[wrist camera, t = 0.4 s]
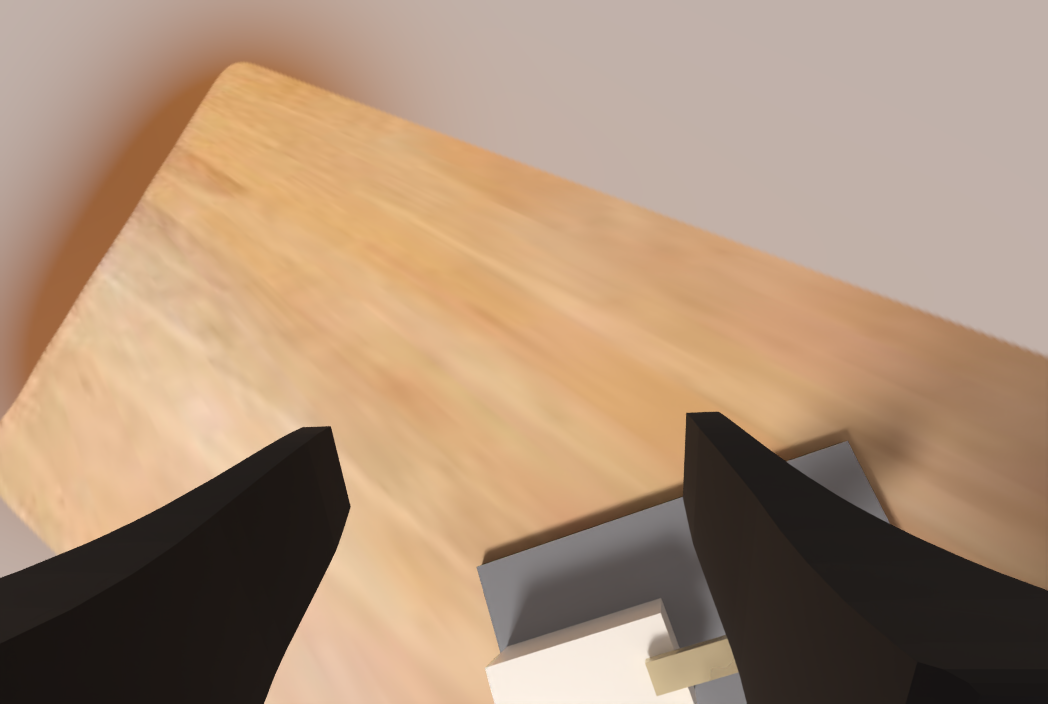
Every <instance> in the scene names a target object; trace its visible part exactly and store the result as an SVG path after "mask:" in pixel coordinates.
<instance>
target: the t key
mask: <svg viewBox="0 0 1048 704" xmlns="http://www.w3.org/2000/svg"><path fill="white" fill-rule="evenodd" d="M645 664H646V667H647V670H648V673H649V676H650V679H651V682H652V684H653V687H654V690H655V693H656V696H659V695H663V694H666V693H670V692H673V691H676V690H680V689H683V688H687V687H690V686H694V685H697V684H701V683H704V682H707V681H711V680H714V679H718V678H721V677H725V676H728V675H731V674H735V673H738V669H737V666H736V663H735V660H734V656H733V653H732V650H731V647H730V645H729V642H728V639H727V636H726V635H723V636H720V637H716V638H713V639H710V640H706V641H703V642H700V643H697V644H693V645H690V646H687V647H683V648H680V649H677V650H673V651H670V652H667V653H663V654H660V655H657V656H653V657H650V658H647V659H646V660H645Z"/></svg>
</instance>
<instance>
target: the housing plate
mask: <svg viewBox="0 0 1048 704" xmlns="http://www.w3.org/2000/svg"><path fill="white" fill-rule="evenodd" d="M786 462H787V463H789V464H790V465H792V466H793V467H795V468H796V469H798V470H799V471H800V472H802V473H803V474H805V475H806V476H808V477H809V478H811V479H813V480H814V481H816V482H817V483H819V484H821V485H822V486H824V487H825V488H827V489H828V490H830V491H832V492H833V493H835V494H836V495H838V496H840V497H841V498H843V499H845V500H847V501H848V502H850V503H852V504H853V505H855V506H857V507H859V508H861V509H863V510H865V511H866V512H868V513H870V514H872V515H874V516H876V517H878V518H880V519H881V520H883V521H885V522H887V523H889V521H888V519H887V517H886V515H885V513H884V511H883V509H882V507H881V505H880V503H879V501H878V499H877V497H876V495H875V493H874V491H873V489H872V487H871V486H870V484H869V482H868V480H867V478H866V476H865V474H864V472H863V470H862V468H861V466H860V464H859V462H858V460H857V458H856V456H855V454H854V452H853V450H852V448H851V446H850V444H849V442H848V441H845V442H842V443H839V444H836V445H833V446H830V447H827V448H824V449H821V450H818V451H815V452H812V453H810V454H807V455H804V456H801V457H798V458H795V459H792V460H789V461H786ZM889 524H890V523H889ZM477 570H478V574H479V577H480V581H481V584H482V588H483V592H484V595H485V599H486V602H487V606H488V610H489V613H490V617H491V620H492V624H493V628H494V631H495V635H496V638H497V642H498V646H499V649H500V653H501V652H502V651H503V650H504V649H505V648H506V647H507V646H510V645H514V644H517V643H520V642H523V641H526V640H529V639H532V638H536V637H539V636H542V635H545V634H548V633H551V632H555V631H558V630H561V629H564V628H567V627H570V626H574V625H577V624H580V623H583V622H586V621H589V620H593V619H596V618H599V617H602V616H605V615H608V614H612V613H615V612H618V611H621V610H624V609H627V608H631V607H634V606H637V605H640V604H643V603H646V602H650V601H653V600H656V599H659V598H661V599H662V602H663V604H664V607H665V610H666V613H667V615H668V618H669V621H670V623H671V626H672V629H673V631H674V634H675V637H676V640H677V642H678V645H679V648H683V647H687V646H690V645H693V644H697V643H700V642H703V641H706V640H710V639H713V638H716V637H720V636H723V635H726V634H725V631H724V628H723V625H722V623H721V620H720V617H719V615H718V612H717V609H716V606H715V604H714V601H713V598H712V595H711V593H710V590H709V587H708V585H707V582H706V579H705V576H704V573H703V571H702V568H701V565H700V562H699V560H698V557H697V554H696V551H695V548H694V545H693V542H692V537H691V533H690V529H689V525H688V520H687V515H686V511H685V506H684V501H683V497H680V498H677V499H674V500H671V501H668V502H665V503H663V504H660V505H657V506H654V507H651V508H648V509H645V510H642V511H639V512H636V513H633V514H630V515H627V516H624V517H621V518H618V519H615V520H613V521H610V522H607V523H604V524H601V525H598V526H595V527H592V528H589V529H586V530H583V531H580V532H577V533H574V534H571V535H568V536H566V537H563V538H560V539H557V540H554V541H551V542H548V543H545V544H542V545H539V546H536V547H533V548H530V549H527V550H524V551H521V552H518V553H516V554H513V555H510V556H507V557H504V558H501V559H498V560H495V561H492V562H489V563H486V564H483V565H480V566H478V567H477ZM694 688H695V693H696V700H697V704H747V702H746V698H745V694H744V691H743V687H742V683H741V679H740V675H739V672H738V673H735V674H731V675H728V676H725V677H721V678H718V679H714V680H711V681H707V682H704V683H701V684H697V685H694Z"/></svg>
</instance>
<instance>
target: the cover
mask: <svg viewBox="0 0 1048 704" xmlns="http://www.w3.org/2000/svg"><path fill="white" fill-rule="evenodd" d="M677 649H680V648H679V645H678V642H677V640H676V637H675V634H674V631H673V629H672V626H671V623H670V621H669V618H668V615H667V613H666V610H665V607H664V604H663V602H662V599H661V598H659V599H656V600H653V601H650V602H646V603H643V604H640V605H637V606H634V607H631V608H627V609H624V610H621V611H618V612H615V613H612V614H608V615H605V616H602V617H599V618H596V619H593V620H589V621H586V622H583V623H580V624H577V625H574V626H570V627H567V628H564V629H561V630H558V631H555V632H551V633H548V634H545V635H542V636H539V637H536V638H532V639H529V640H526V641H523V642H520V643H517V644H514V645H510V646H507V647H506V648H505V649H504V650H503V651H502V652H501V653H500V654H499V655H498V656H497V657H496V658H495V659H494V660H493V661H492V662H490V663H489V664H488V665H487V666H486V667H485V670H486V673H487V677H488V681H489V685H490V688H491V692H492V696H493V699H494V703H495V704H697V700H696V693H695V688H694V686H690V687H687V688H683V689H680V690H676V691H673V692H670V693H666V694H663V695H659V696H656V693H655V690H654V687H653V684H652V682H651V679H650V676H649V673H648V670H647V667H646V664H645V660H646V659H647V658H650V657H653V656H657V655H660V654H663V653H667V652H670V651H673V650H677Z"/></svg>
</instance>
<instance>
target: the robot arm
mask: <svg viewBox="0 0 1048 704" xmlns="http://www.w3.org/2000/svg"><path fill="white" fill-rule="evenodd" d="M683 501H684V506H685V511H686V515H687V520H688V525H689V529H690V533H691V537H692V542H693V545H694V548H695V551H696V554H697V557H698V560H699V562H700V565H701V568H702V571H703V573H704V576H705V579H706V582H707V585H708V587H709V590H710V593H711V595H712V598H713V601H714V604H715V606H716V609H717V612H718V615H719V617H720V620H721V623H722V625H723V628H724V631H725V634H726V636H727V639H728V642H729V645H730V647H731V650H732V653H733V656H734V660H735V663H736V666H737V669H738V672H739V675H740V679H741V683H742V687H743V691H744V694H745V698H746V702H747V704H1048V591H1047V590H1045V589H1042V588H1039V587H1037V586H1034V585H1031V584H1028V583H1026V582H1023V581H1020V580H1018V579H1015V578H1012V577H1010V576H1007V575H1004V574H1001V573H999V572H996V571H994V570H992V569H989V568H987V567H984V566H982V565H979V564H977V563H974V562H972V561H969V560H967V559H964V558H962V557H960V556H958V555H955V554H953V553H951V552H949V551H946V550H944V549H942V548H940V547H937V546H935V545H933V544H931V543H928V542H926V541H924V540H922V539H920V538H917V537H915V536H913V535H911V534H909V533H907V532H905V531H903V530H901V529H899V528H897V527H895V526H893V525H891V524H889V523H887V522H885V521H883V520H881V519H880V518H878V517H876V516H874V515H872V514H870V513H868V512H866V511H865V510H863V509H861V508H859V507H857V506H855V505H853V504H852V503H850V502H848V501H847V500H845V499H843V498H841V497H840V496H838V495H836V494H835V493H833V492H832V491H830V490H828V489H827V488H825V487H824V486H822V485H821V484H819V483H817V482H816V481H814V480H813V479H811V478H809V477H808V476H806V475H805V474H803V473H802V472H800V471H799V470H798V469H796V468H795V467H793V466H792V465H790V464H789V463H787V462H786V461H785V460H783V459H782V458H780V457H779V456H778V455H776V454H775V453H773V452H772V451H771V450H769V449H768V448H767V447H765V446H764V445H763V444H761V443H760V442H759V441H757V440H756V439H755V438H753V437H752V436H751V435H749V434H748V433H747V432H745V431H744V430H743V429H741V428H740V427H739V426H738V425H736V424H735V423H734V422H732V421H731V420H730V419H728V418H727V417H726V416H724V415H723V414H721V413H720V412H697V413H686V436H685V461H684V485H683ZM349 510H350V503H349V498H348V494H347V490H346V486H345V482H344V478H343V474H342V470H341V466H340V462H339V458H338V454H337V450H336V446H335V442H334V437H333V433H332V429H331V426H326V427H302V428H300V429H298V430H296V431H293V432H292V433H290V434H288V435H286V436H284V437H282V438H280V439H279V440H277V441H275V442H273V443H272V444H270V445H268V446H267V447H265V448H263V449H261V450H260V451H258V452H256V453H255V454H253V455H251V456H250V457H248V458H246V459H245V460H243V461H241V462H240V463H238V464H236V465H235V466H233V467H231V468H230V469H228V470H226V471H225V472H223V473H221V474H220V475H218V476H216V477H215V478H213V479H211V480H210V481H208V482H206V483H204V484H202V485H201V486H199V487H197V488H195V489H193V490H192V491H190V492H188V493H186V494H185V495H183V496H181V497H179V498H177V499H176V500H174V501H172V502H170V503H168V504H167V505H165V506H163V507H161V508H159V509H157V510H155V511H154V512H152V513H150V514H148V515H146V516H144V517H142V518H140V519H138V520H136V521H134V522H132V523H130V524H128V525H125V526H123V527H121V528H119V529H117V530H115V531H113V532H111V533H109V534H106V535H104V536H102V537H100V538H98V539H96V540H93V541H91V542H89V543H87V544H84V545H82V546H79V547H77V548H74V549H72V550H70V551H67V552H65V553H62V554H60V555H57V556H55V557H52V558H50V559H48V560H45V561H43V562H40V563H38V564H35V565H33V566H30V567H28V568H26V569H23V570H21V571H18V572H15V573H13V574H10V575H7V576H4V577H2V578H0V704H264V702H265V699H266V697H267V694H268V692H269V689H270V686H271V684H272V681H273V679H274V676H275V674H276V672H277V669H278V667H279V665H280V663H281V661H282V658H283V656H284V654H285V652H286V650H287V648H288V646H289V644H290V642H291V640H292V638H293V636H294V634H295V632H296V630H297V628H298V626H299V624H300V622H301V620H302V618H303V616H304V614H305V612H306V610H307V608H308V606H309V604H310V602H311V600H312V598H313V596H314V594H315V592H316V590H317V588H318V586H319V584H320V582H321V580H322V578H323V576H324V574H325V572H326V570H327V568H328V566H329V564H330V562H331V560H332V558H333V556H334V554H335V552H336V549H337V546H338V544H339V541H340V538H341V535H342V532H343V529H344V526H345V523H346V520H347V517H348V513H349Z"/></svg>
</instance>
